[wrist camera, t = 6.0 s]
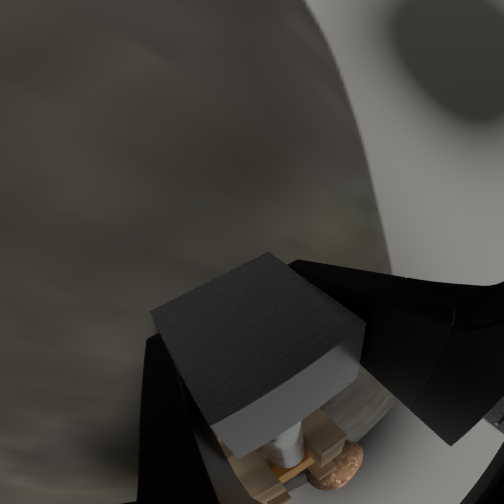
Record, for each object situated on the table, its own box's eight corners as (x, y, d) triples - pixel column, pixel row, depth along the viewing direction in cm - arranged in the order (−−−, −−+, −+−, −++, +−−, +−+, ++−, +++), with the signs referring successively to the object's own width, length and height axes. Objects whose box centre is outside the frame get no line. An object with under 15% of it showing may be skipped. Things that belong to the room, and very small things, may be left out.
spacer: (295, 434, 19) (318, 459, 17) (251, 461, 18) (272, 489, 15) (293, 423, 18) (318, 451, 15) (244, 453, 16) (267, 484, 14)
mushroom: (348, 465, 33) (366, 487, 27) (296, 478, 32) (310, 503, 25) (353, 424, 33) (375, 443, 27) (298, 436, 32) (314, 460, 26)
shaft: (294, 410, 16) (337, 455, 12) (237, 445, 14) (276, 496, 11) (268, 252, 9) (366, 322, 6) (149, 311, 8) (210, 426, 5)
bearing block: (304, 427, 22) (340, 465, 18) (236, 469, 20) (268, 512, 16) (299, 371, 16) (354, 426, 13) (197, 431, 14) (242, 501, 10)
